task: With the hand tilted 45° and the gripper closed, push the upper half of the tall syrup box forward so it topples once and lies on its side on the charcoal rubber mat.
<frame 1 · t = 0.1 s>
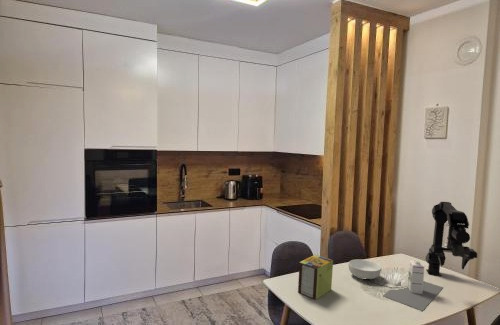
hand: (451, 267, 160), 15 cm above the table, tool pointing down, fingers open, 9 cm apart
rubber mat: (413, 291, 164), on the table
cereal bowl: (363, 277, 179), on the table
protein box: (314, 291, 161), on the table
syrup box: (414, 291, 165), resting on rubber mat
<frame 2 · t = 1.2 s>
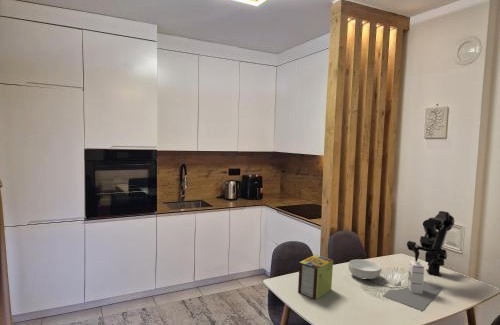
hand: (421, 263, 169), 13 cm above the table, tool tilted 45°, fingers open, 6 cm apart
nothing on the table moved.
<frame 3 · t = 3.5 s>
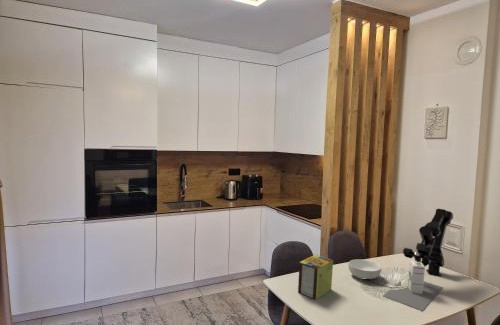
hand: (418, 271, 166), 10 cm above the table, tool tilted 45°, fingers closed
syrup box: (414, 290, 165), resting on rubber mat, touching gripper
everything else where it was.
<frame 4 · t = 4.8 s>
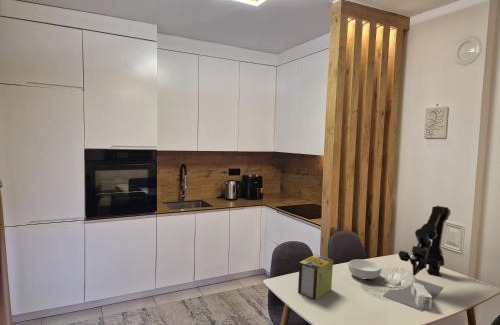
hand: (414, 274, 161), 10 cm above the table, tool tilted 45°, fingers closed
syrup box: (416, 288, 162), point 3 cm above the table, touching rubber mat
everything else where it was.
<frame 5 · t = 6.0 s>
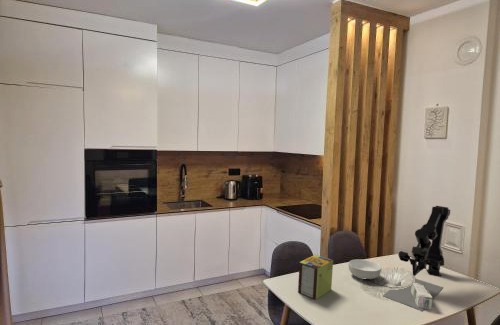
hand: (413, 275, 161), 10 cm above the table, tool tilted 45°, fingers closed
nothing on the table moved.
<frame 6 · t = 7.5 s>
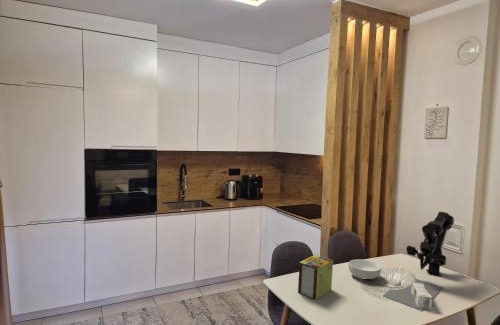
hand: (421, 269, 169), 10 cm above the table, tool tilted 45°, fingers closed
nothing on the table moved.
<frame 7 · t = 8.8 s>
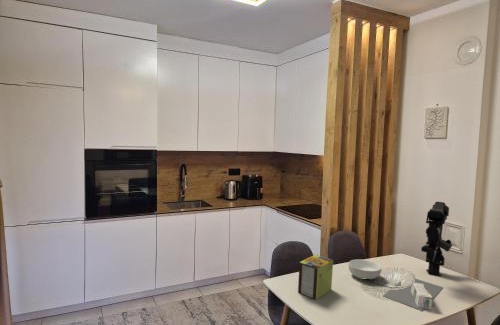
hand: (431, 261, 173), 12 cm above the table, tool pointing down, fingers closed
nothing on the table moved.
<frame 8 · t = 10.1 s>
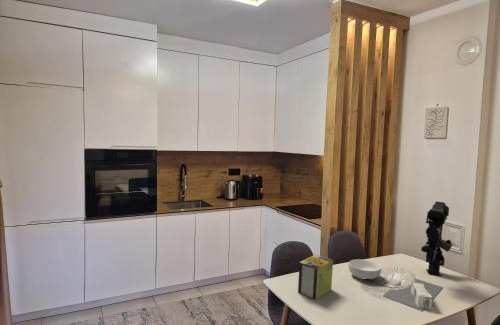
hand: (431, 262, 173), 12 cm above the table, tool pointing down, fingers closed
nothing on the table moved.
at the end: syrup box tilted 90°; syrup box touching rubber mat; syrup box 2.2 cm from the rubber mat (horizontally) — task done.
